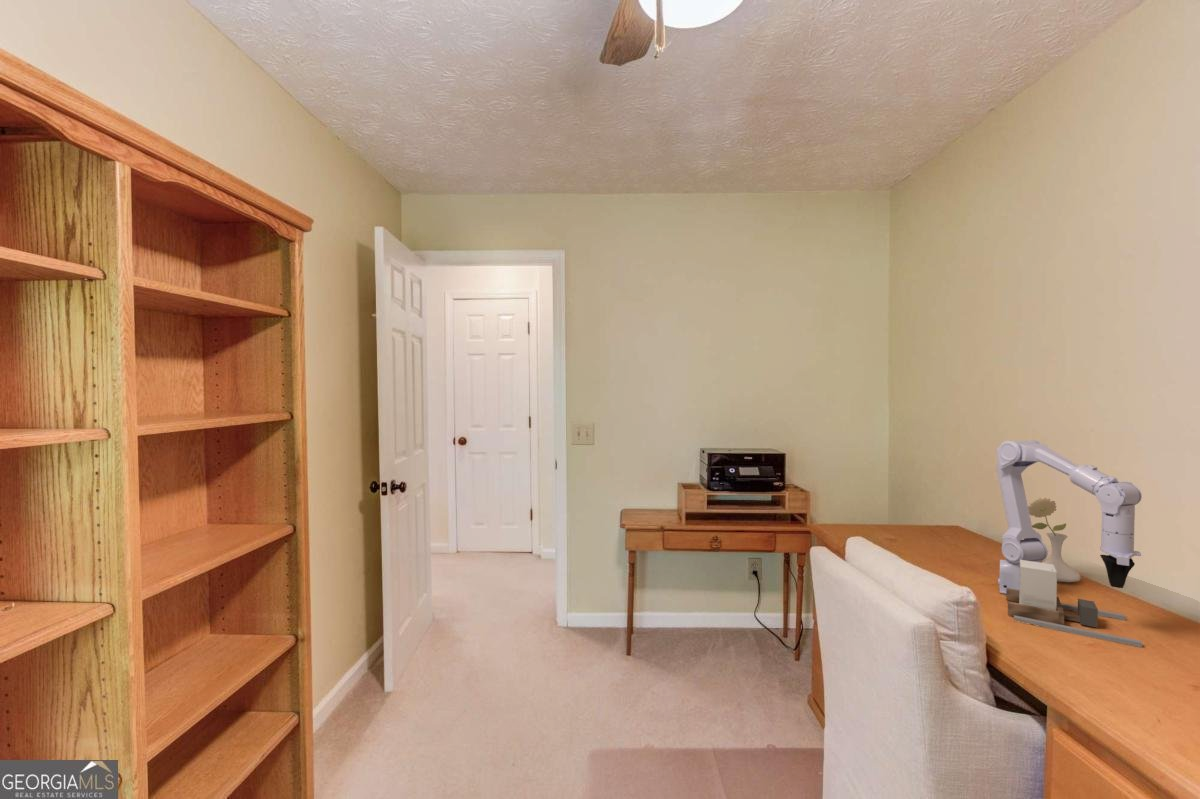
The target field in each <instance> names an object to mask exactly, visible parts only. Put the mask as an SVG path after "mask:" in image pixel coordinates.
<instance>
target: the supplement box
mask: <svg viewBox="0 0 1200 799" xmlns="http://www.w3.org/2000/svg"><path fill="white" fill-rule="evenodd" d="M1057 594H1058V581H1057V571H1056V569H1055V567H1054V565H1053V564H1047V563H1040V562H1033V561H1026V560H1020V588H1019V602H1018V604H1023V605H1028V606H1033V607H1039V608H1044V609H1049V610H1054V611H1057V597H1058V596H1057Z"/></svg>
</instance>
